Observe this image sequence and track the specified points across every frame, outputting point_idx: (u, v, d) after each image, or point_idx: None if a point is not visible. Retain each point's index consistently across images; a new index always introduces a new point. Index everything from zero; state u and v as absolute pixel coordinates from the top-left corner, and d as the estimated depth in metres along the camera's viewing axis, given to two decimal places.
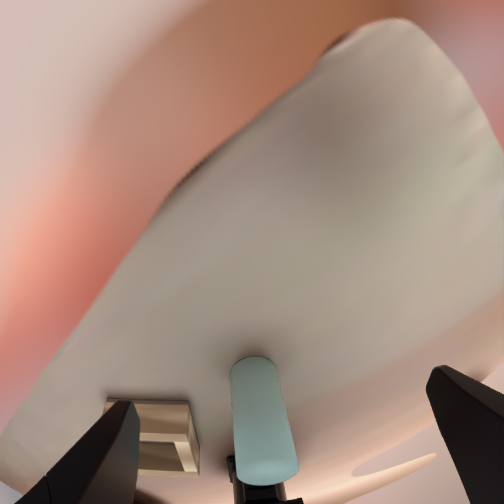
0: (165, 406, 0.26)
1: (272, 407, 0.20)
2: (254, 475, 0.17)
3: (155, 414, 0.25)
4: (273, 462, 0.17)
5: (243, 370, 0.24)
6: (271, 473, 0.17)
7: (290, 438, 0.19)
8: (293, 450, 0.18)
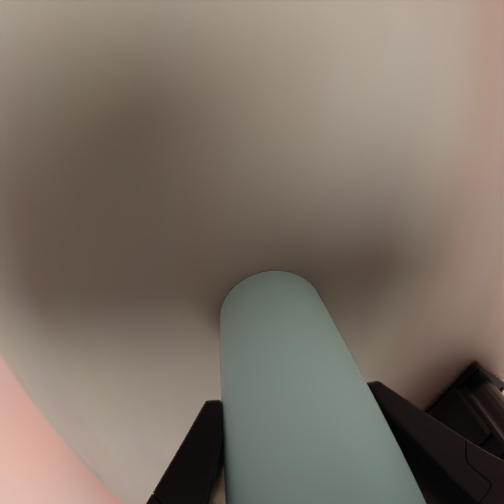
0: None
1: (260, 396, 0.06)
2: None
3: None
4: None
5: (221, 335, 0.11)
6: None
7: (348, 469, 0.04)
8: None
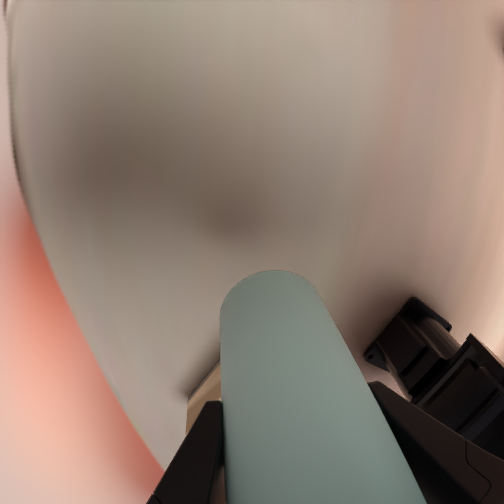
0: None
1: (260, 396, 0.06)
2: None
3: (219, 375, 0.22)
4: None
5: (221, 335, 0.11)
6: None
7: (348, 469, 0.04)
8: None
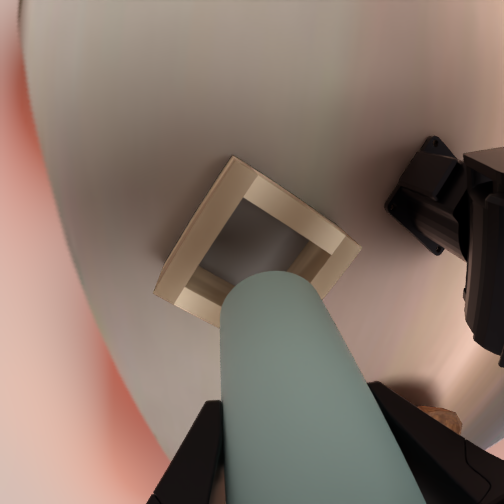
0: (212, 186, 0.18)
1: (260, 396, 0.06)
2: None
3: (204, 202, 0.17)
4: None
5: (221, 335, 0.11)
6: None
7: (348, 469, 0.04)
8: None
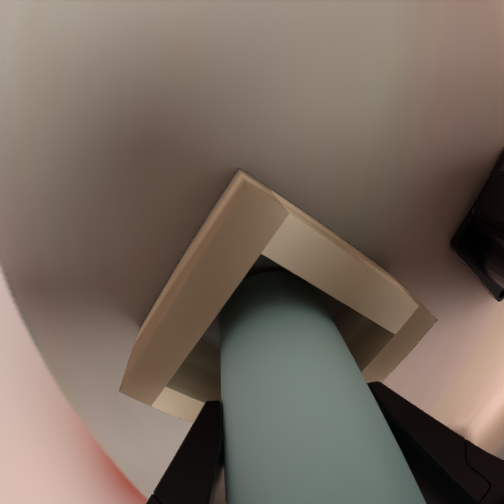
0: (207, 220, 0.11)
1: (260, 396, 0.06)
2: None
3: (192, 249, 0.10)
4: None
5: (221, 335, 0.11)
6: None
7: (348, 470, 0.04)
8: None
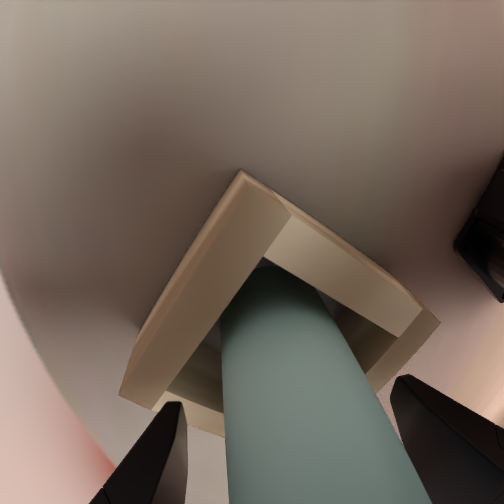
0: (207, 221, 0.11)
1: (261, 381, 0.07)
2: None
3: (193, 251, 0.10)
4: None
5: (221, 328, 0.11)
6: None
7: (345, 447, 0.05)
8: (365, 493, 0.04)
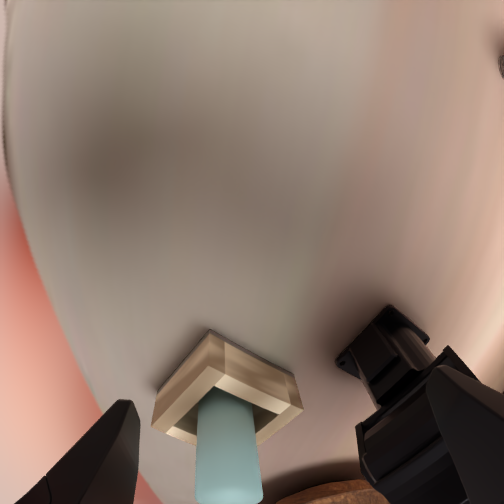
0: (193, 353, 0.22)
1: (209, 431, 0.18)
2: (224, 503, 0.15)
3: (186, 369, 0.21)
4: (214, 492, 0.14)
5: None
6: (233, 498, 0.15)
7: (229, 457, 0.16)
8: (231, 471, 0.15)
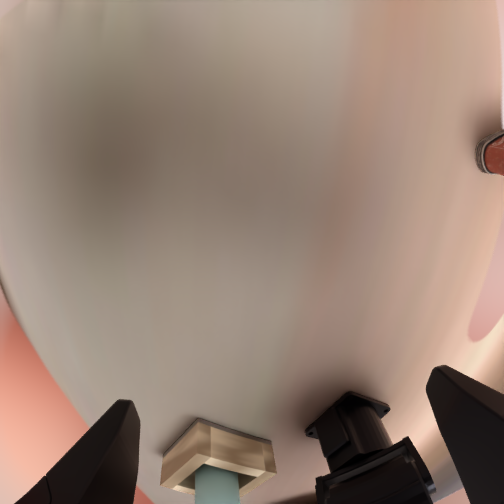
0: (187, 434, 0.25)
1: (202, 494, 0.21)
2: None
3: (183, 447, 0.25)
4: None
5: None
6: None
7: None
8: None
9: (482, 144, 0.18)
